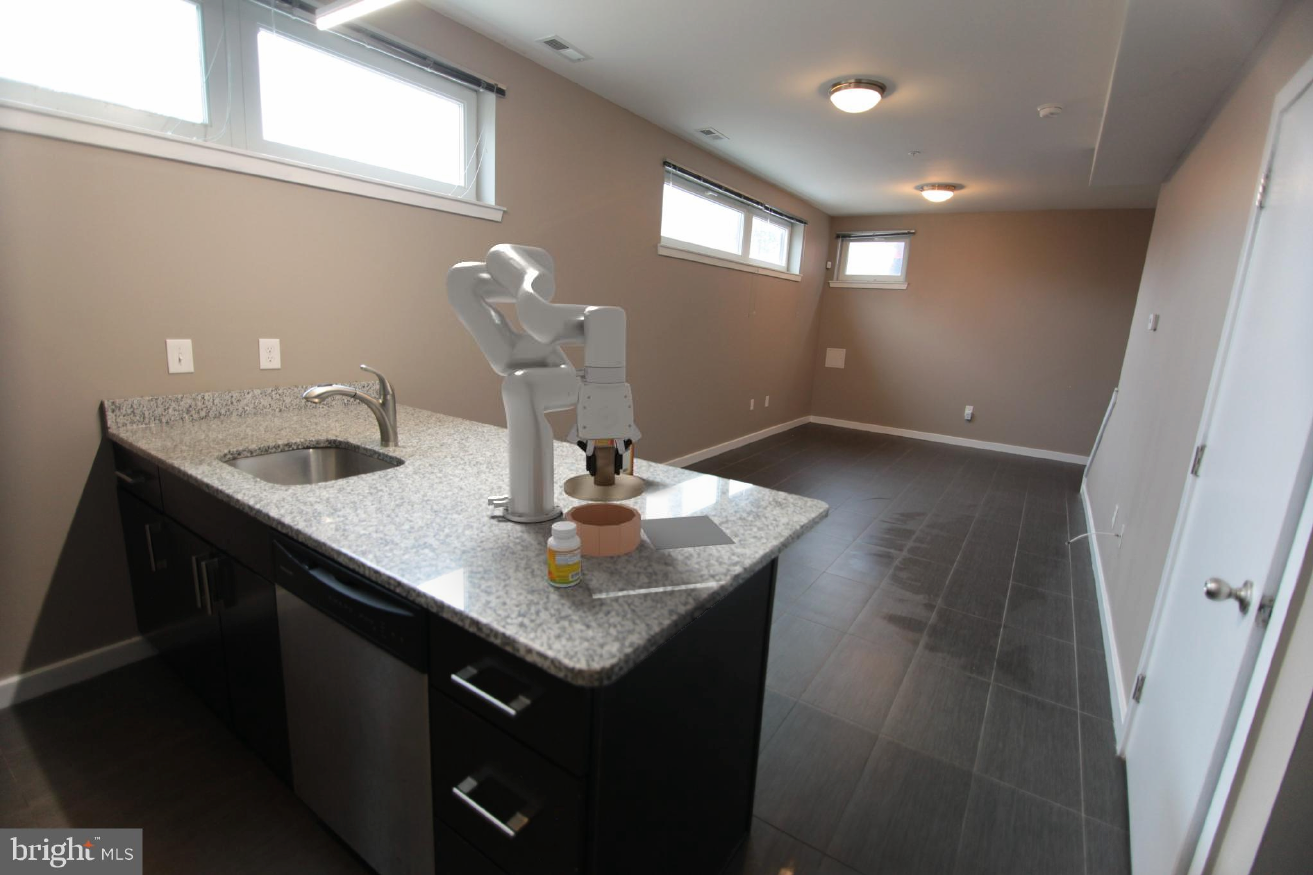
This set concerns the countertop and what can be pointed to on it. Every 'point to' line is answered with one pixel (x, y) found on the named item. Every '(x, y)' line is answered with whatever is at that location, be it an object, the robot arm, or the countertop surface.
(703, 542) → the mat
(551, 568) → the supplement bottle
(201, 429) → the countertop surface
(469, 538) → the countertop surface
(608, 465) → the lid
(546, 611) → the countertop surface
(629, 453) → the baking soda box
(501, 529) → the countertop surface
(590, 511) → the bowl
